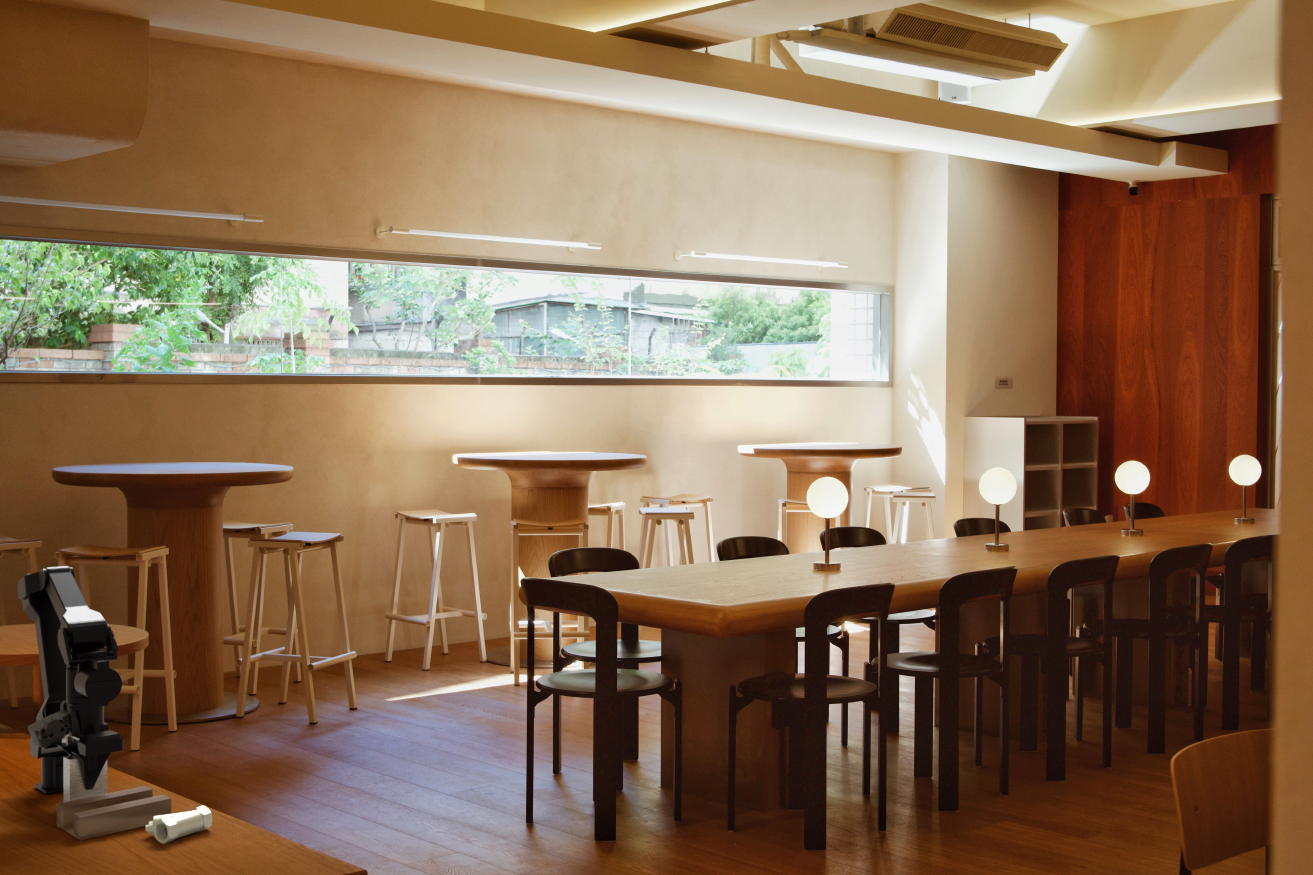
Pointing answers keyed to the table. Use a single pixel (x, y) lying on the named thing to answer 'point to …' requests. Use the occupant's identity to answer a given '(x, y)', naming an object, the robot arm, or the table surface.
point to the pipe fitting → (179, 824)
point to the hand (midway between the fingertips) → (85, 787)
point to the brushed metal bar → (80, 780)
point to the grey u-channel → (111, 812)
